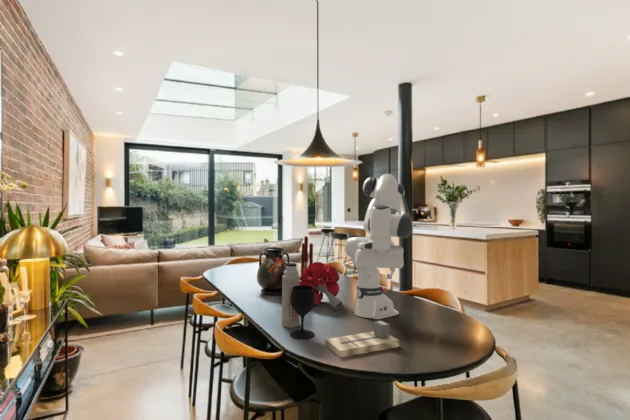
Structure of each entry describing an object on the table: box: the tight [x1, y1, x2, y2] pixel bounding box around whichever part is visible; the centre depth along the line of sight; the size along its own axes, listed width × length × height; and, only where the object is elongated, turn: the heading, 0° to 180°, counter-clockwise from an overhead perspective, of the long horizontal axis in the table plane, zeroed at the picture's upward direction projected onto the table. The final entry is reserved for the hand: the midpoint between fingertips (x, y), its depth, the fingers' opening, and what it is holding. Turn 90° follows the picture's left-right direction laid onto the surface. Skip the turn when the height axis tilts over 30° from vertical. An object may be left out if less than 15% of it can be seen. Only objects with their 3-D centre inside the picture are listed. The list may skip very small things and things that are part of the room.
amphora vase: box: [256, 246, 291, 296], centre depth 218 cm, size 22×22×28 cm
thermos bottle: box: [281, 262, 301, 328], centre depth 159 cm, size 8×8×28 cm
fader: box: [373, 320, 391, 338], centre depth 139 cm, size 4×5×5 cm
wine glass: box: [289, 285, 315, 340], centre depth 146 cm, size 10×10×20 cm
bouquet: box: [300, 261, 343, 311], centre depth 193 cm, size 22×24×30 cm
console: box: [324, 330, 400, 359], centre depth 135 cm, size 26×12×3 cm, turn 114°
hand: (378, 278), depth 142 cm, fingers open, 8 cm apart
